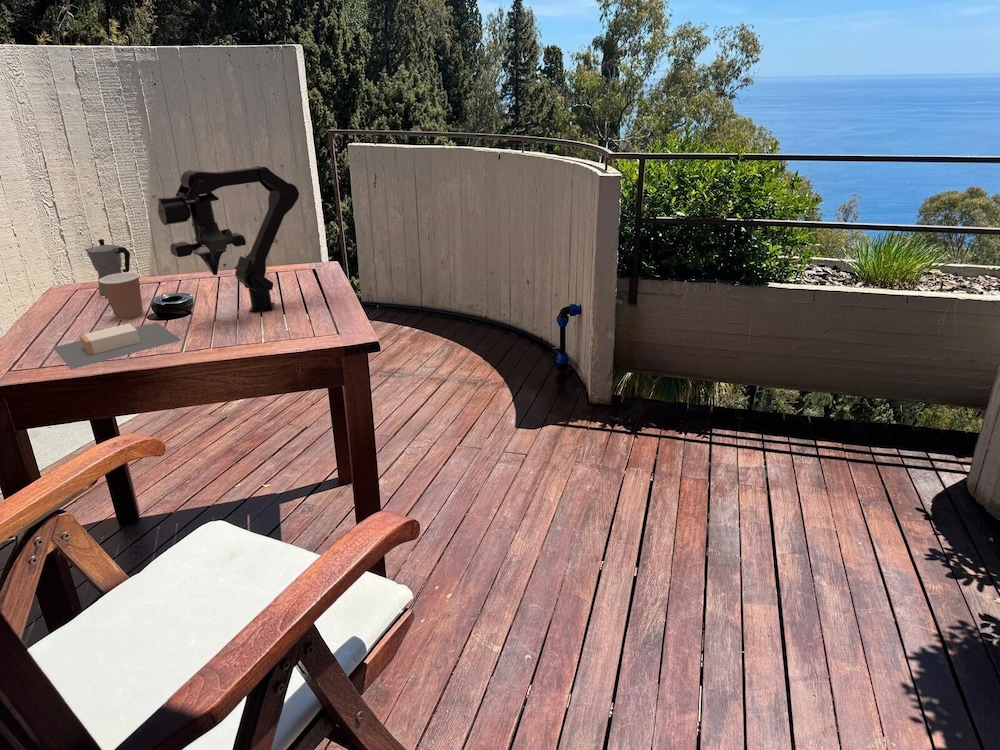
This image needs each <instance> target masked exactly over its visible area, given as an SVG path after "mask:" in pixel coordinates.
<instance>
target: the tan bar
mask: <svg viewBox="0 0 1000 750" xmlns="http://www.w3.org/2000/svg"><path fill="white" fill-rule="evenodd" d="M78 336H79V338H80V341H81V342H82V346H83V348H84V349H85V350H86V351H87V352H88V353H89V354H90V355H92V354H96V353H100V352H104V351H108V350H112V349H116V348H120V347H124V346H128V345H132V344H136V343H140V339H139V335H138V331H137V329H135V327H134V326H133V325H132V324H130V323H125V324H121V325H117V326H113V327H109V328H104V329H99V330H95V331H92V332H87V333H83V334H79V335H78Z"/></svg>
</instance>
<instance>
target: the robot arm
mask: <svg viewBox="0 0 1000 750" xmlns="http://www.w3.org/2000/svg"><path fill="white" fill-rule="evenodd" d="M258 182H259V183H260V184H261V185H262V187H263V188H264V189H265V190H266V191H268V192H269V194H268V198H267V199H268V209H267V210H266V211H267V212H266V214H265V216H264V218H263V221H262V223H261V226H260V228H259V230H258V233H257V235H256V238H255V240H254V243H253V245H252V247H251V250H250V251H249V253H248V255H246V256H245V257H244V256H239V258H238V262H237V264H236V266H235V267H234V270H235V273H234V274H235V278H236V280H237V281H238V282H239V283H240V284H243V286H244V288H246V289H248V294H249V299H250V304H251V306H250V309H249V313H259V312H269V311H274V307H275V302H272V297H271V291H272V290H273V288H274V282H273V281H271V280H270V279H268V278H266V277H265V276H266V272H267V264H266V263H267V262H266V261H267V258H268V255H269V254H270V253H269V252H270V251H271V249H272V247H273V243H274V242H275V239H276V236H277V234H278V231H279V229H280V227H281V225H282V223H283V220H284V217H285V215H287V214H288V213H289V212H290V211H291V210H292V209H293V208H294V206H295V205H296V203H297V201H298V200H299V198H300V197H299V196H300V192H299V190H298V188H297V186H296V185H294V184H293V183H291V182H287V181H286V180H284V179H283V178H282V177H280V176H278V175H277V174H275V173H274V172H272V170H270V169H269V168H268V167H266V166H262V165H256V166H253V167H246V168H236V169H229V170H221V171H208V170H207V171H205V170H195V169H194V170H192V169H190V170H186V171H184V172H183V174H182V175H181V177H180V185H179V186H178V187H179V188H178V190H177V192H176V193H175V195H174V196H172V197H158V200H157V201H158V204H157V209H158V210H157V214H158V217H159V219H160V222H161V223H162V224H163V225H164V226H167V225H168V226H169V225H175V224H180V223H187V222H188V220H190V219H191V221H192V222H191V226H192V228H193V231H194V235H195V236H194V241H195V242H194V243H189V242H186V241H180V242H174V243H171V244H170V247H169V249H170V252H171V255H173V256H175V257H177V258H183V257H189V256H191V255H192V254H195V255H197V256H199V257H200V258H201V259H202V260H203V261H204V263H205V265H206V266H207V267H208V269H209V271H210V272H211V274H212V275H213V276H218V271H219V265H220V260H221V257H222V255H223V253H226V252H227V248H228V245H233V247H235V248H236V247H242V246H246V245H247V241H246V238H245V236H244V235H243V234H240V233H238V232H232V230H231V229H230V228H226V229H222V230H220V228H219V226H218V225H219V224H218V222H217V221H216V218H215V214H214V208H213V204H212V202H215V201H219V199H220V198H219V197H218V196H216V195H215V194H214V193H213V192H214V191H217V190H218V189H220V188H224V187H229V186H236V185H245V184H250V183H251V184H252V183H258Z"/></svg>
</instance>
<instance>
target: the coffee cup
mask: <svg viewBox="0 0 1000 750" xmlns="http://www.w3.org/2000/svg"><path fill="white" fill-rule="evenodd" d="M139 277H140V274H139V273H136V272H122V273H118V274H112V275H108V276H105V277H103V278H101V279H100V280H99V281H98V283H99V282H100V283H101V284H102V287H103V289H104V291H105V294H106V296H107V298H106V299H107V302H108V304H109V306H110V308H111V309H112V312H113V315H114V316H115V318H116V320H118V321H123V320H131V319H135V318H139V317H141V316H143V315H144V313H143V312H144V309H143V308H144V307H143V302H142V295H141V294H142V293H141V286H140V279H139Z"/></svg>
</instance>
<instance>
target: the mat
mask: <svg viewBox="0 0 1000 750" xmlns="http://www.w3.org/2000/svg"><path fill="white" fill-rule="evenodd" d="M134 328H135V329H137V331H138V335H139V339H140V343H136V344H132V345H128V346H124V347H120V348H116V349H112V350H108V351H104V352H100V353H96V354H92V355H90V354H89V353H88V352H87V351H86V350H85V349H84V348H83V346H82V342H81V340H77V341H74V342H69V343H65V344H61V345H56V346H52V348H53V350H54V351H55V352H56V353H57V354H58V356H60V358H61V359H62V360H63V361H64V363H65V364H66V365H67V367H69V369H70V370H73V369H77V368H81V367H84V366H88V365H93V364H96V363H100V362H104V361H108V360H111V359H114V358H119V357H122V356H126V355H132V354H135V353H139V352H142V351H145V350H150V349H154V348H157V347H160V346H165V345H169V344H173V343H177V342H180V341H182V339H181V338H179V337H178V336H177V335H176V334H174V333H173V332H171V331H170V330H168V329H167V328H165V326H163V325H162V324H160V323H159V322H158V321H156V322H151V323H148V324H143V325H139V326H136V327H134Z"/></svg>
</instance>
